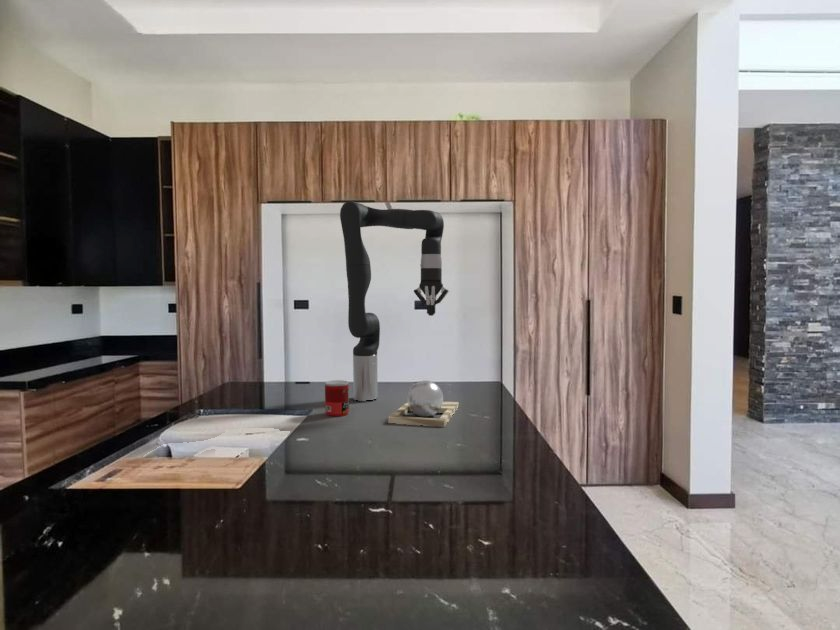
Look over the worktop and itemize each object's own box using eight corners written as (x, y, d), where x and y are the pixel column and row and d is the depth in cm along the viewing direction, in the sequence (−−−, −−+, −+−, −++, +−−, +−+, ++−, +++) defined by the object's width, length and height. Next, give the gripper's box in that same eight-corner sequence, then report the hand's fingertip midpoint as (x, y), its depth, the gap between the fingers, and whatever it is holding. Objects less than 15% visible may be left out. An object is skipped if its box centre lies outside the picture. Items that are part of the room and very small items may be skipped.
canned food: (347, 417, 172) (346, 384, 172) (323, 417, 172) (322, 384, 172) (350, 411, 180) (350, 380, 179) (327, 411, 180) (327, 380, 179)
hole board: (410, 404, 189) (410, 399, 189) (458, 407, 185) (458, 402, 185) (388, 423, 164) (388, 417, 164) (444, 427, 160) (444, 420, 159)
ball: (404, 391, 180) (396, 403, 168) (427, 369, 177) (420, 379, 165) (429, 416, 180) (422, 429, 168) (453, 393, 176) (447, 405, 165)
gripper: (451, 267, 188) (451, 315, 189) (415, 267, 191) (415, 314, 192) (447, 266, 180) (447, 316, 181) (410, 267, 183) (410, 315, 185)
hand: (431, 315), depth 187 cm, fingers closed
